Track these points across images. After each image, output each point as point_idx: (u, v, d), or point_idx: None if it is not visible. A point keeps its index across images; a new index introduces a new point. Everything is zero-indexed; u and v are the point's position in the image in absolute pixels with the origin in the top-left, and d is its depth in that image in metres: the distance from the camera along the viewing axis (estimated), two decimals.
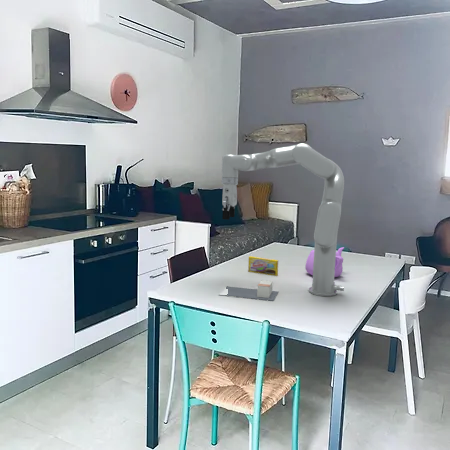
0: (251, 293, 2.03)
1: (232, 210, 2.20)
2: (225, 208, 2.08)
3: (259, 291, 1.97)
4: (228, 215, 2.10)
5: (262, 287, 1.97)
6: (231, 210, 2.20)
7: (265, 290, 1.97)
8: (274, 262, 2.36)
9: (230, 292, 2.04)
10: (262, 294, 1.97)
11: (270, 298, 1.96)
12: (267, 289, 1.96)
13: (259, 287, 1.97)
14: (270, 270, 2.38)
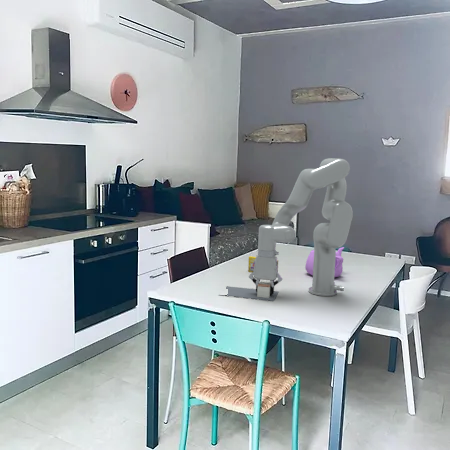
0: (251, 293, 2.03)
1: None
2: (276, 283, 2.00)
3: (259, 291, 1.97)
4: None
5: (262, 287, 1.97)
6: None
7: (265, 290, 1.97)
8: None
9: (230, 292, 2.04)
10: (262, 294, 1.97)
11: (270, 298, 1.96)
12: (267, 289, 1.96)
13: (259, 287, 1.97)
14: None
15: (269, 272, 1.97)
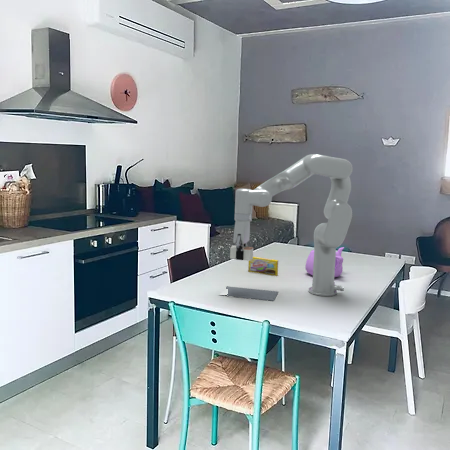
0: (251, 293, 2.03)
1: None
2: None
3: (250, 254, 1.99)
4: None
5: (251, 249, 2.00)
6: None
7: (252, 252, 2.01)
8: (274, 262, 2.36)
9: (230, 292, 2.04)
10: (251, 256, 2.00)
11: (270, 298, 1.96)
12: (252, 250, 2.02)
13: (250, 250, 1.99)
14: (270, 270, 2.38)
15: (248, 234, 2.02)
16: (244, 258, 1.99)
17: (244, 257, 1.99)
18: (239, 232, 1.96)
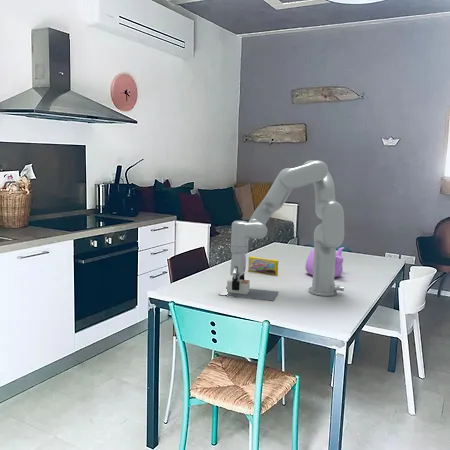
0: (251, 293, 2.03)
1: None
2: None
3: (247, 288, 2.01)
4: None
5: (248, 283, 2.03)
6: None
7: (248, 285, 2.04)
8: (274, 262, 2.36)
9: None
10: (248, 290, 2.03)
11: (270, 298, 1.96)
12: (249, 283, 2.05)
13: (247, 284, 2.01)
14: (270, 270, 2.38)
15: (245, 265, 2.04)
16: (241, 292, 2.02)
17: (241, 291, 2.02)
18: (236, 264, 1.98)
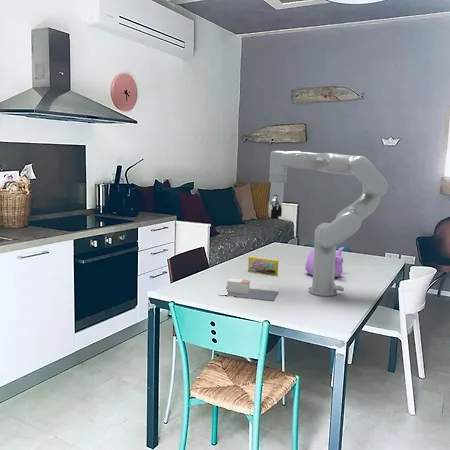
0: (251, 293, 2.03)
1: None
2: None
3: (247, 288, 2.01)
4: None
5: (248, 283, 2.03)
6: None
7: (248, 285, 2.04)
8: (274, 262, 2.36)
9: None
10: (248, 290, 2.03)
11: (270, 298, 1.96)
12: (249, 283, 2.05)
13: (247, 284, 2.01)
14: (270, 270, 2.38)
15: None
16: (241, 292, 2.02)
17: (241, 291, 2.02)
18: (275, 193, 2.00)
